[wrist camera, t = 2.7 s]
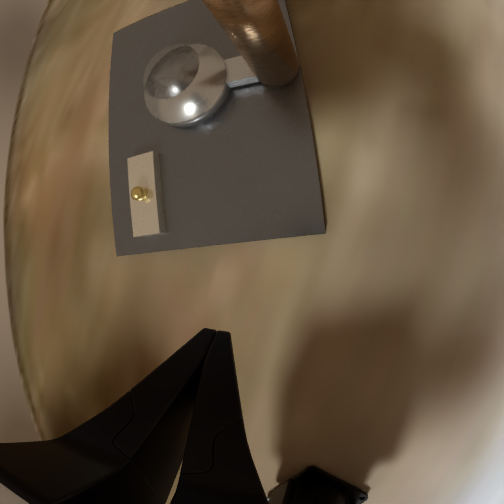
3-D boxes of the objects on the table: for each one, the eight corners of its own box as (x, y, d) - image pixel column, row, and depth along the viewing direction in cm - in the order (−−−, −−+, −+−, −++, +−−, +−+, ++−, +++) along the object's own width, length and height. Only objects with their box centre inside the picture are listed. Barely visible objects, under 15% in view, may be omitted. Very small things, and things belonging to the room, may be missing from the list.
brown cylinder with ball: (306, 103, 18) (255, -33, 6) (153, 136, 21) (13, 86, 9) (290, 23, 17) (236, -109, 6) (151, 62, 20) (39, -12, 9)
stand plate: (325, 233, 19) (323, 234, 17) (121, 255, 23) (101, 258, 21) (280, -19, 18) (273, -37, 16) (117, 35, 22) (101, 25, 20)
